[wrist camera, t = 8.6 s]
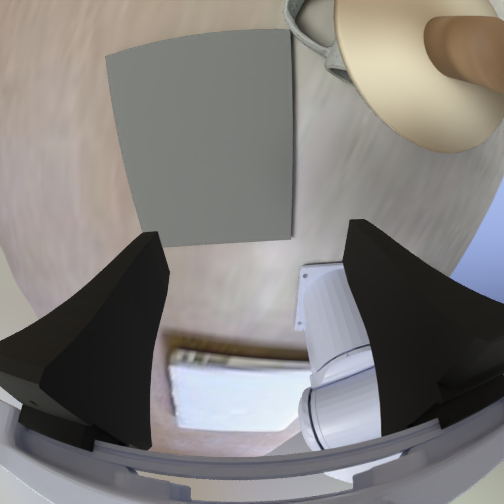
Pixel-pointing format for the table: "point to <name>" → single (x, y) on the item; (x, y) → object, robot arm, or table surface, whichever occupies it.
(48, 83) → the table surface
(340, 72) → the ceramic mug
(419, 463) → the robot arm
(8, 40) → the table surface
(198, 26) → the table surface
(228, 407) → the table surface
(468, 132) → the lid
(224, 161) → the mat
